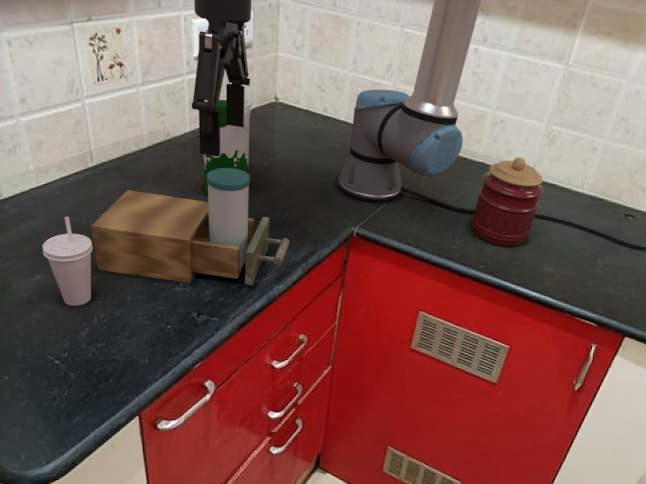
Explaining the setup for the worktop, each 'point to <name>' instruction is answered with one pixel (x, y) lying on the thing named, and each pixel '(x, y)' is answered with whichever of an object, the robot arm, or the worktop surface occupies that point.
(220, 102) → the milk carton
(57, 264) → the smoothie
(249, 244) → the drawer
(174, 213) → the cabinet
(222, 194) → the container
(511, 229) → the kitchen canister
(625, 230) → the worktop surface
